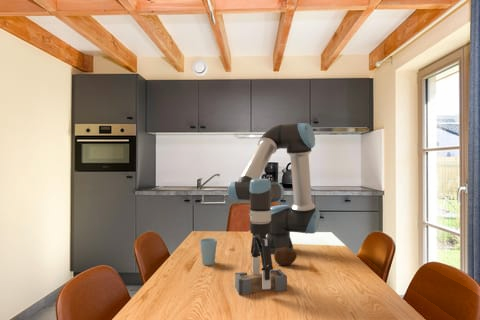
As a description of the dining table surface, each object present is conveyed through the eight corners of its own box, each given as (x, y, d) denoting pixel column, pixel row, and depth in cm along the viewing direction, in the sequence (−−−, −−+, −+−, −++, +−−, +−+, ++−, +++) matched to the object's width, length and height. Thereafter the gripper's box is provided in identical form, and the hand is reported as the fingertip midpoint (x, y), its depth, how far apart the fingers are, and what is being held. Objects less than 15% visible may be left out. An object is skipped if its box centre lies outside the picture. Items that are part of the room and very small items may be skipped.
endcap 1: (239, 294, 106) (239, 280, 106) (235, 286, 113) (235, 272, 114) (251, 293, 107) (251, 279, 107) (246, 285, 114) (246, 271, 114)
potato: (273, 262, 141) (273, 245, 142) (295, 262, 141) (295, 245, 141) (275, 267, 134) (275, 249, 134) (298, 268, 134) (297, 249, 134)
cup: (219, 264, 139) (219, 241, 139) (202, 267, 135) (202, 243, 136) (213, 260, 145) (213, 237, 146) (198, 262, 142) (197, 239, 143)
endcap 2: (280, 282, 117) (280, 269, 117) (287, 290, 110) (287, 276, 110) (269, 283, 116) (269, 270, 116) (275, 291, 109) (275, 277, 109)
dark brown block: (276, 285, 115) (275, 272, 115) (279, 289, 111) (279, 275, 111) (240, 289, 111) (240, 275, 111) (242, 293, 108) (242, 279, 108)
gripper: (242, 216, 123) (243, 270, 123) (259, 229, 99) (260, 296, 99) (261, 215, 125) (261, 268, 125) (282, 228, 101) (282, 294, 101)
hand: (261, 281), depth 112 cm, fingers open, 13 cm apart
